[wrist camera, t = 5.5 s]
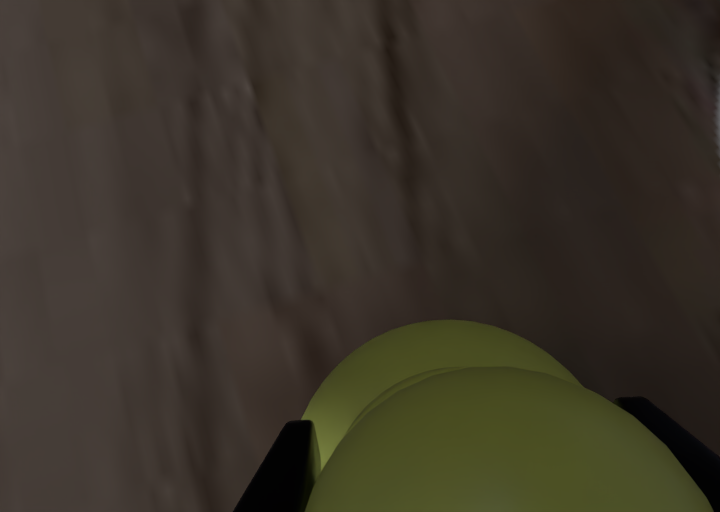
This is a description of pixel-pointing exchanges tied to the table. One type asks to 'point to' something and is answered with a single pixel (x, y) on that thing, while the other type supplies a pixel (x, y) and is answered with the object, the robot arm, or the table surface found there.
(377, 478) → the pear
